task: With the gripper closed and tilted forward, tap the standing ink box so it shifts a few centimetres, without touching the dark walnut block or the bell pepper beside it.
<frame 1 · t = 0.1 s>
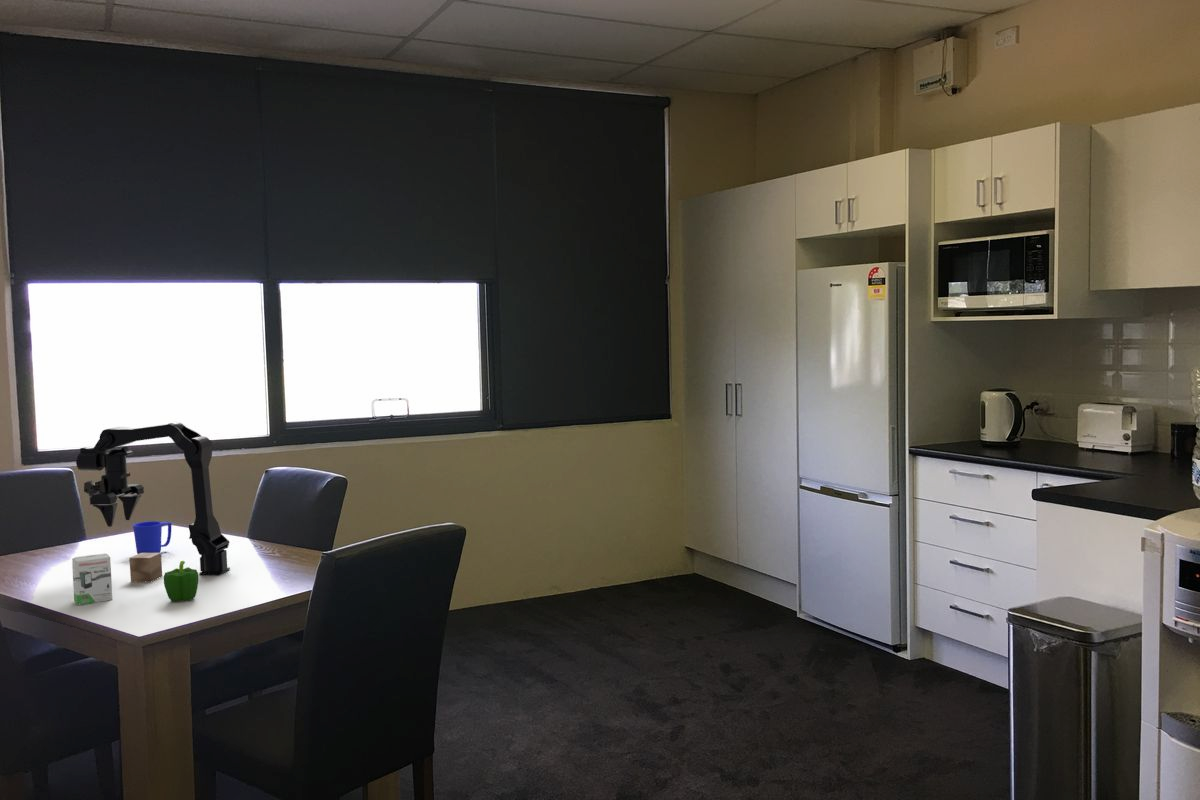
hand: (118, 523, 283), 15 cm above the table, tool pointing down, fingers open, 9 cm apart
ink box: (93, 601, 255), on the table
walnut block: (146, 579, 276), on the table
mug: (154, 554, 307), on the table
bell pepper: (183, 600, 254), on the table
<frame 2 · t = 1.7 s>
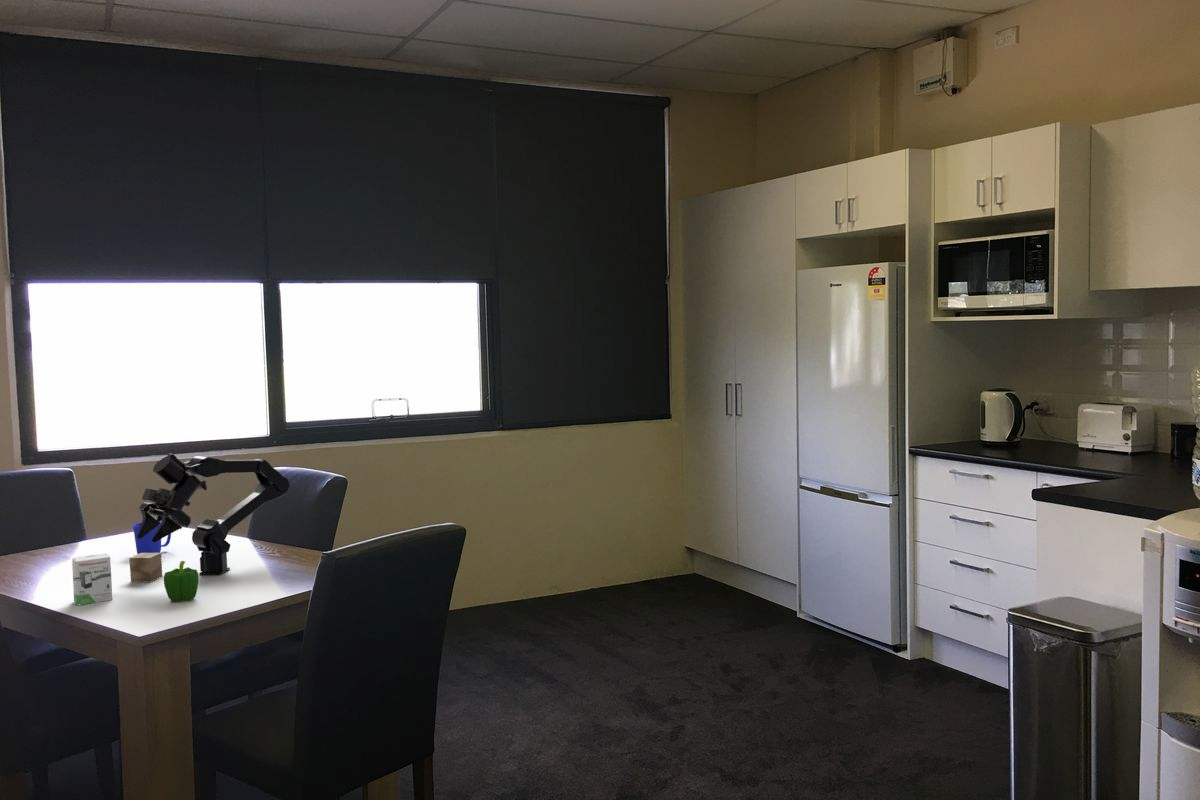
hand: (145, 539, 265), 13 cm above the table, tool tilted 45°, fingers open, 8 cm apart
nothing on the table moved.
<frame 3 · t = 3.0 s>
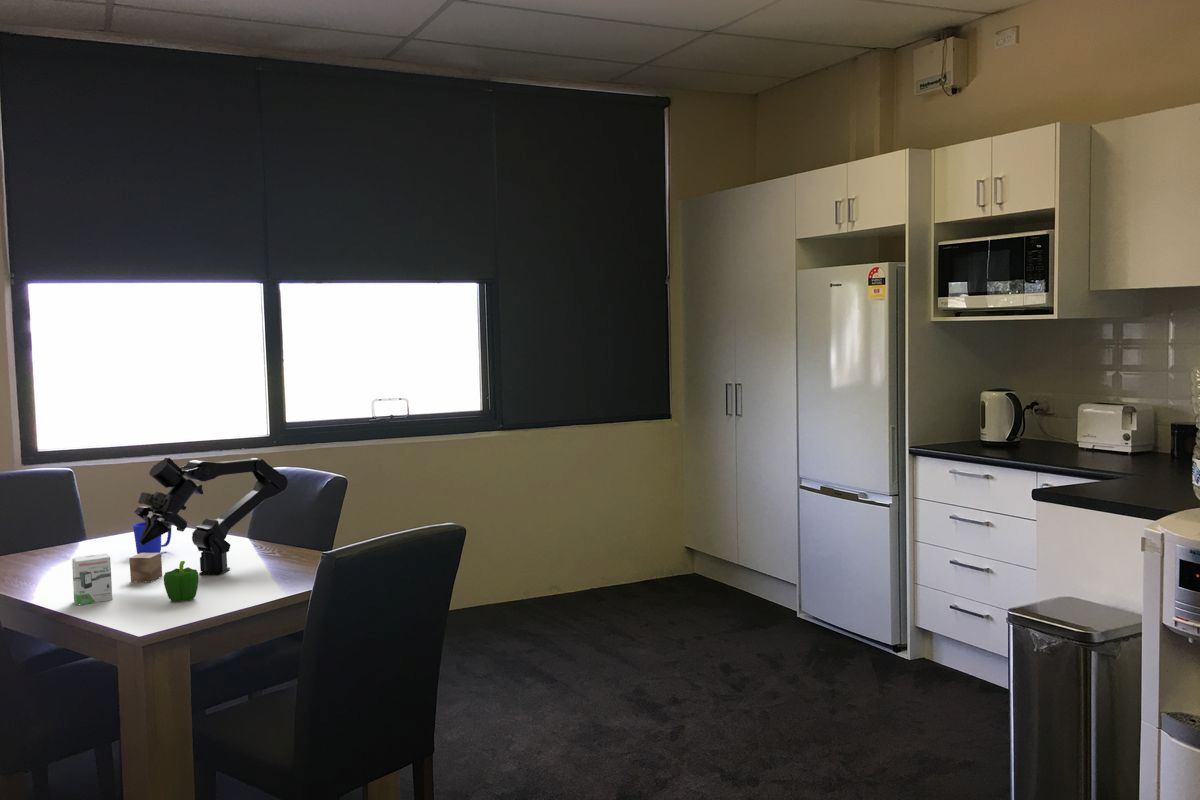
hand: (140, 543, 264), 13 cm above the table, tool tilted 45°, fingers closed
nothing on the table moved.
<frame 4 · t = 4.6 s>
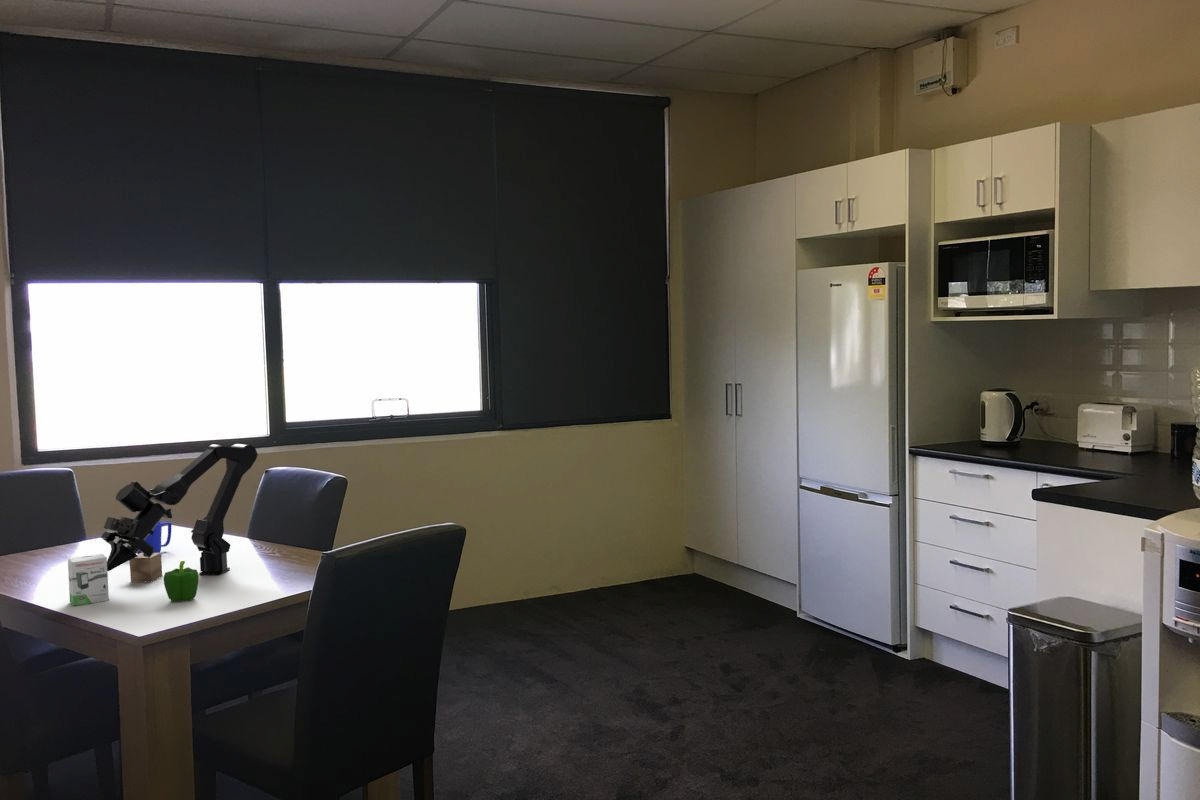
hand: (106, 570, 257), 7 cm above the table, tool tilted 45°, fingers closed
ink box: (89, 602, 254), on the table, touching gripper
everything else where it was.
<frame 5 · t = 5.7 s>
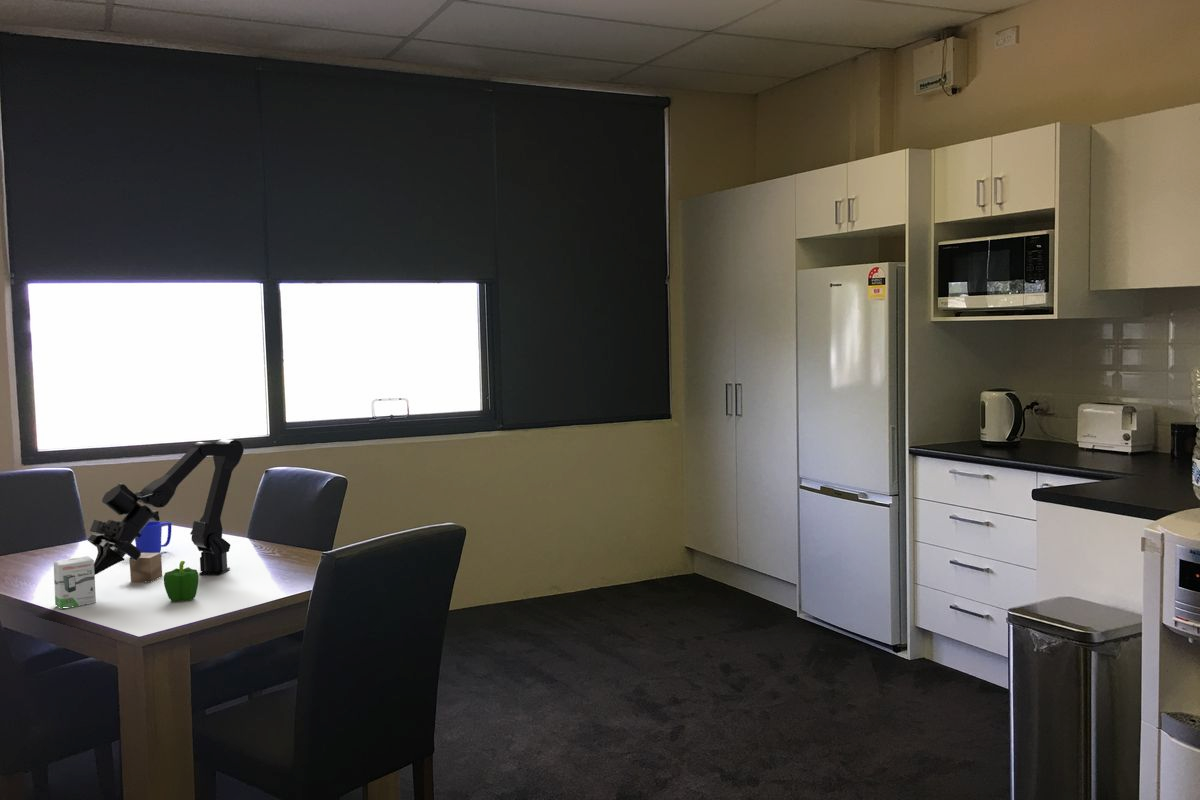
hand: (92, 573, 255), 7 cm above the table, tool tilted 45°, fingers closed
ink box: (76, 605, 252), on the table, touching gripper
everything else where it was.
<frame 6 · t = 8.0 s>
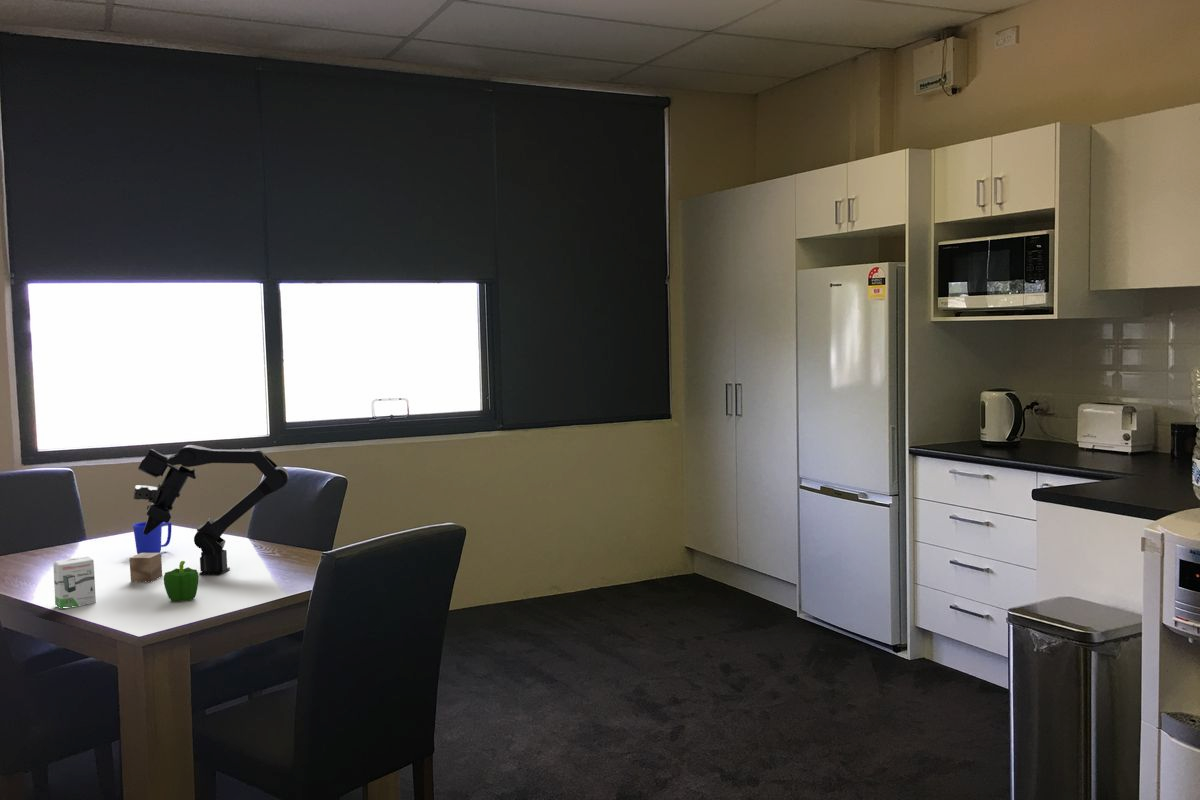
hand: (144, 533, 276), 13 cm above the table, tool tilted 30°, fingers closed
ink box: (76, 605, 252), on the table
everything else where it was.
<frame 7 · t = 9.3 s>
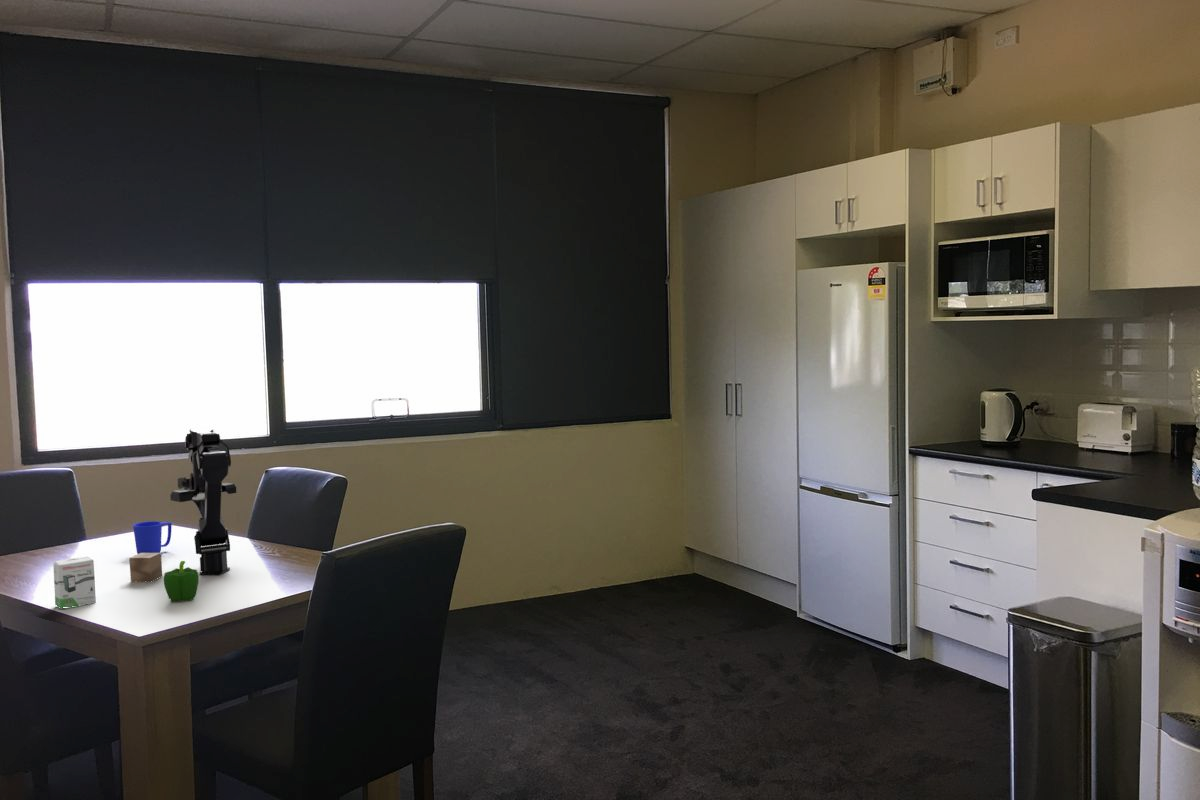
hand: (205, 520, 294), 13 cm above the table, tool pointing down, fingers closed
nothing on the table moved.
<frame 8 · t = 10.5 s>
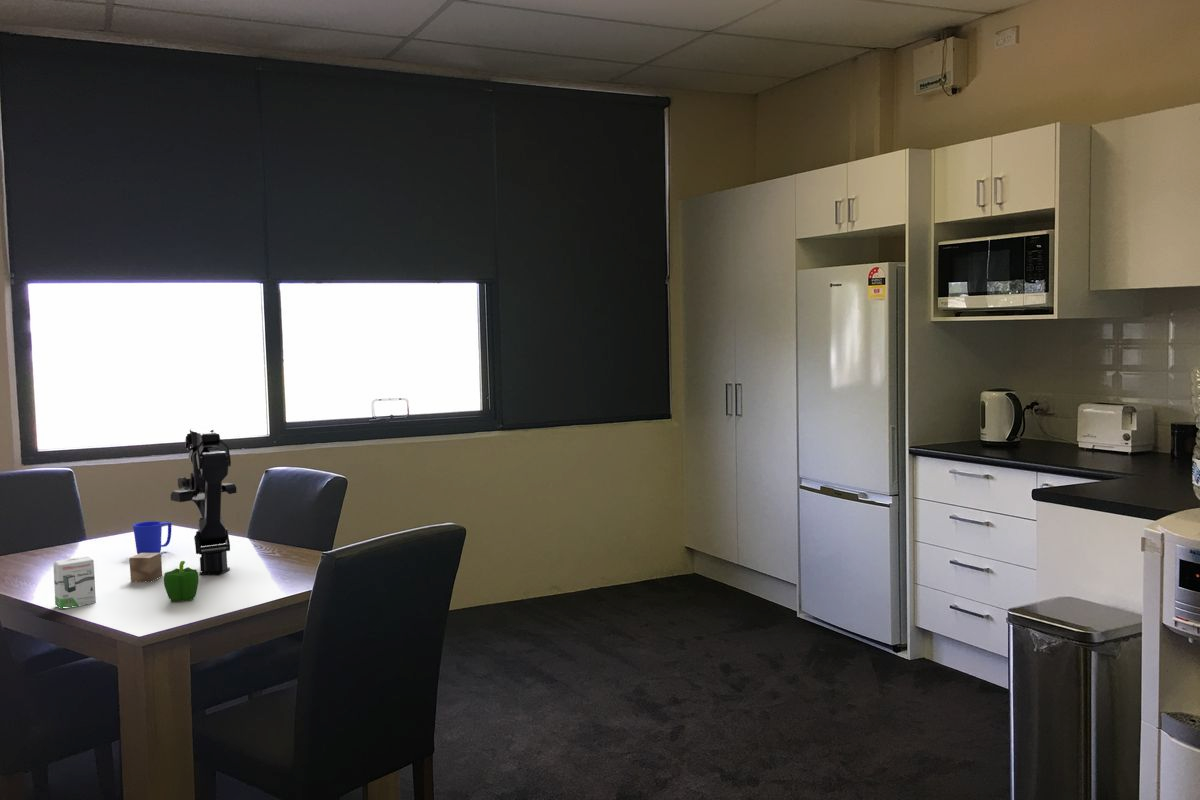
hand: (205, 520, 294), 13 cm above the table, tool pointing down, fingers closed
nothing on the table moved.
at the end: ink box moved 4.4 cm from its start; walnut block moved 0.1 cm from its start; bell pepper moved 0.2 cm from its start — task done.
